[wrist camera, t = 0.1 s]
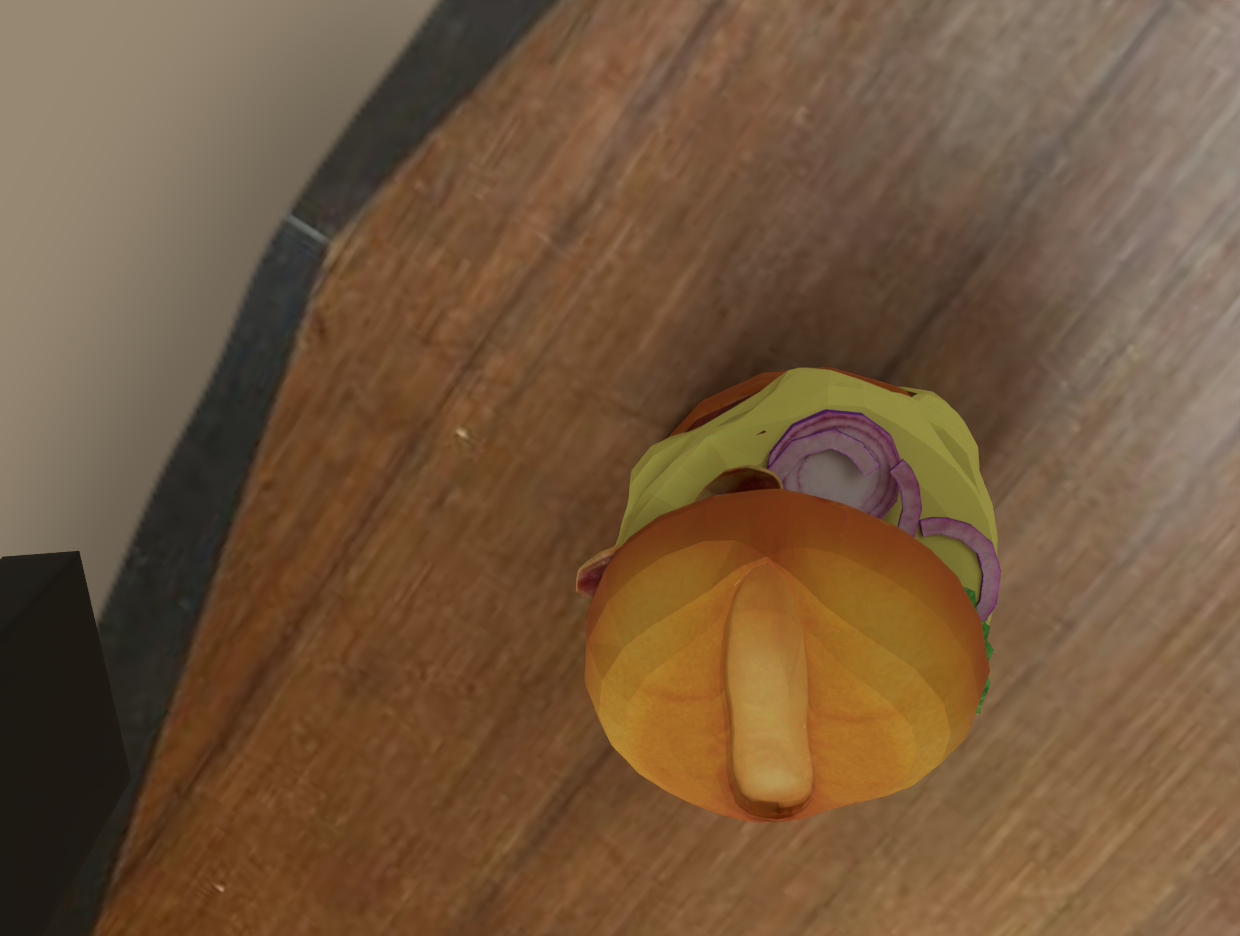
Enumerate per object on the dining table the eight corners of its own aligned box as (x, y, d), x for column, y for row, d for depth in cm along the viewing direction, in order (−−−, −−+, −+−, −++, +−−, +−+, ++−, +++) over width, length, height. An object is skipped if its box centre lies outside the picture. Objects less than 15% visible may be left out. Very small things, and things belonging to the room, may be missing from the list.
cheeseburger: (1054, 530, 32) (1168, 784, 23) (749, 698, 36) (748, 967, 27) (852, 257, 29) (895, 430, 20) (542, 473, 33) (465, 697, 24)
